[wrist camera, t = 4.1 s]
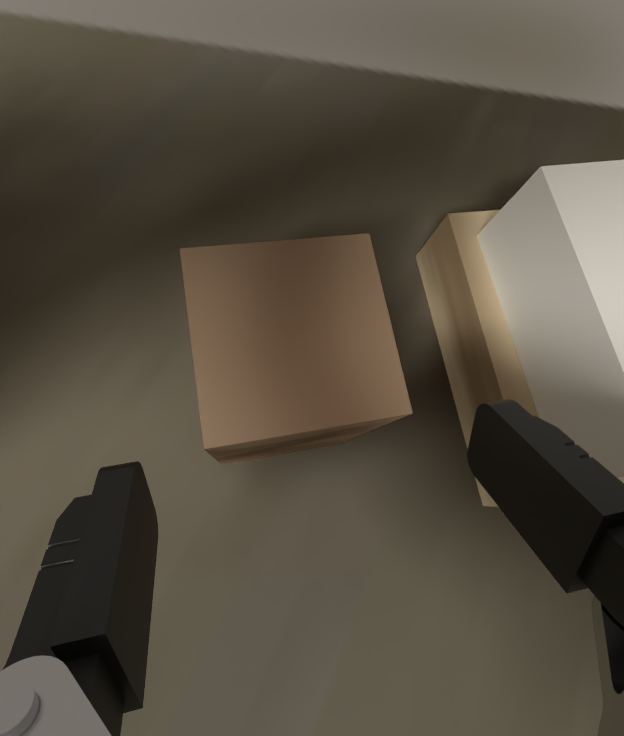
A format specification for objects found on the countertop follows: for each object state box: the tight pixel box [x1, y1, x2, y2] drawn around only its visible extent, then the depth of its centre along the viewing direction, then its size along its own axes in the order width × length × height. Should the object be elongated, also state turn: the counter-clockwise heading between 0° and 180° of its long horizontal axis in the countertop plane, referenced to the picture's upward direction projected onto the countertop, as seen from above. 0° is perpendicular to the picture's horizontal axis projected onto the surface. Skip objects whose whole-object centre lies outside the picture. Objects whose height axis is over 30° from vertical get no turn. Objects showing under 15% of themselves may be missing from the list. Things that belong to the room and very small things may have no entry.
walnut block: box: [180, 233, 413, 464], centre depth 14 cm, size 5×5×8 cm
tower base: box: [416, 210, 624, 507], centre depth 19 cm, size 12×12×4 cm
